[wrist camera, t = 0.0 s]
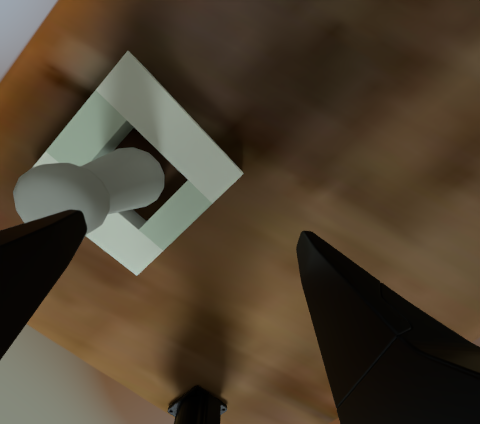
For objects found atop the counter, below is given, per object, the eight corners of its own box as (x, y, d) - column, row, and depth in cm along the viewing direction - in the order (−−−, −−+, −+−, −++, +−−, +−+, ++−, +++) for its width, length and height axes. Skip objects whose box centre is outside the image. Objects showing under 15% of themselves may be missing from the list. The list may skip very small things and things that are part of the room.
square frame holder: (145, 264, 27) (136, 275, 24) (40, 180, 23) (19, 183, 21) (242, 171, 24) (243, 173, 22) (139, 61, 21) (127, 50, 18)
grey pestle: (103, 174, 23) (-40, 205, 11) (138, 135, 23) (25, 120, 10) (146, 212, 25) (63, 278, 12) (181, 176, 24) (129, 208, 11)
